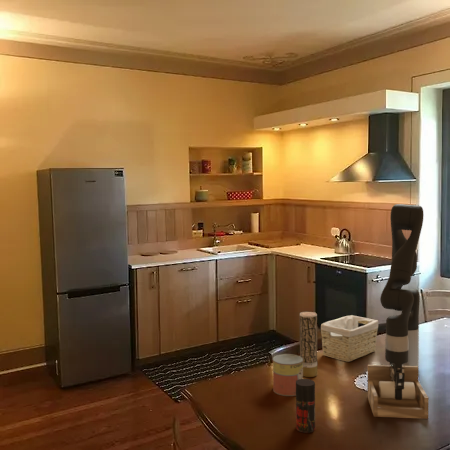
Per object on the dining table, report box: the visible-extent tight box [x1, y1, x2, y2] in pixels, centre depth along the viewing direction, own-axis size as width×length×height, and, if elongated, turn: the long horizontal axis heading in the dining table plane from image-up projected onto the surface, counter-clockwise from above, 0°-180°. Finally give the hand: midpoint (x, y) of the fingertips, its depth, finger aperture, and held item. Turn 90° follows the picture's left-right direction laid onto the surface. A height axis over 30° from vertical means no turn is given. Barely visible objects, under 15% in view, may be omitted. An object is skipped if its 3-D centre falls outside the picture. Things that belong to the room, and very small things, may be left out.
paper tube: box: [299, 311, 318, 378], centre depth 207 cm, size 7×7×25 cm
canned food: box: [272, 353, 304, 397], centre depth 193 cm, size 11×11×12 cm
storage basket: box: [320, 314, 379, 363], centre depth 232 cm, size 24×16×15 cm
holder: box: [367, 364, 430, 420], centre depth 176 cm, size 15×17×12 cm
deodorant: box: [295, 378, 316, 434], centre depth 162 cm, size 6×6×15 cm
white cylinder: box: [379, 381, 415, 399], centre depth 176 cm, size 6×11×6 cm, turn 82°
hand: (396, 395), depth 176 cm, fingers closed on white cylinder, 5 cm apart
